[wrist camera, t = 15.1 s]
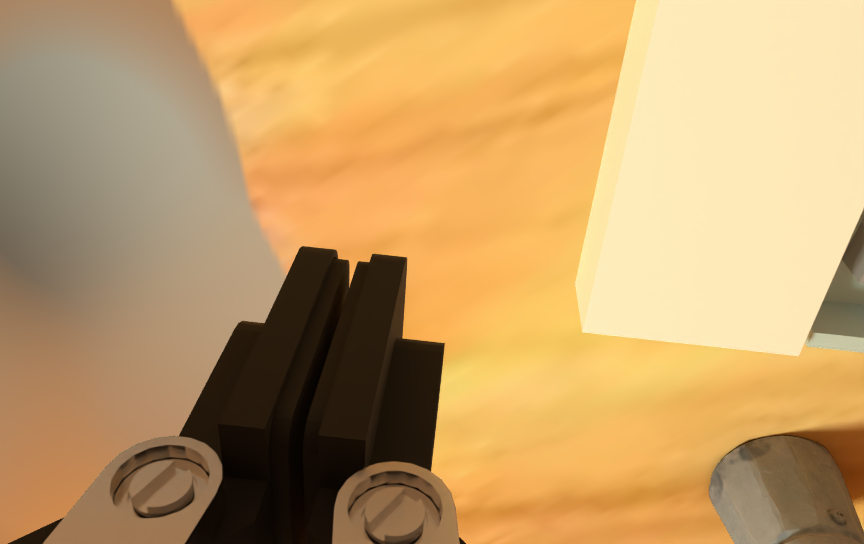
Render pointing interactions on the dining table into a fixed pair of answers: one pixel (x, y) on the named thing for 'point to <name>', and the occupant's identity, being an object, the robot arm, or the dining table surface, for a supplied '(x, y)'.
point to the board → (727, 173)
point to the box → (840, 312)
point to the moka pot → (784, 494)
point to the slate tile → (856, 254)
